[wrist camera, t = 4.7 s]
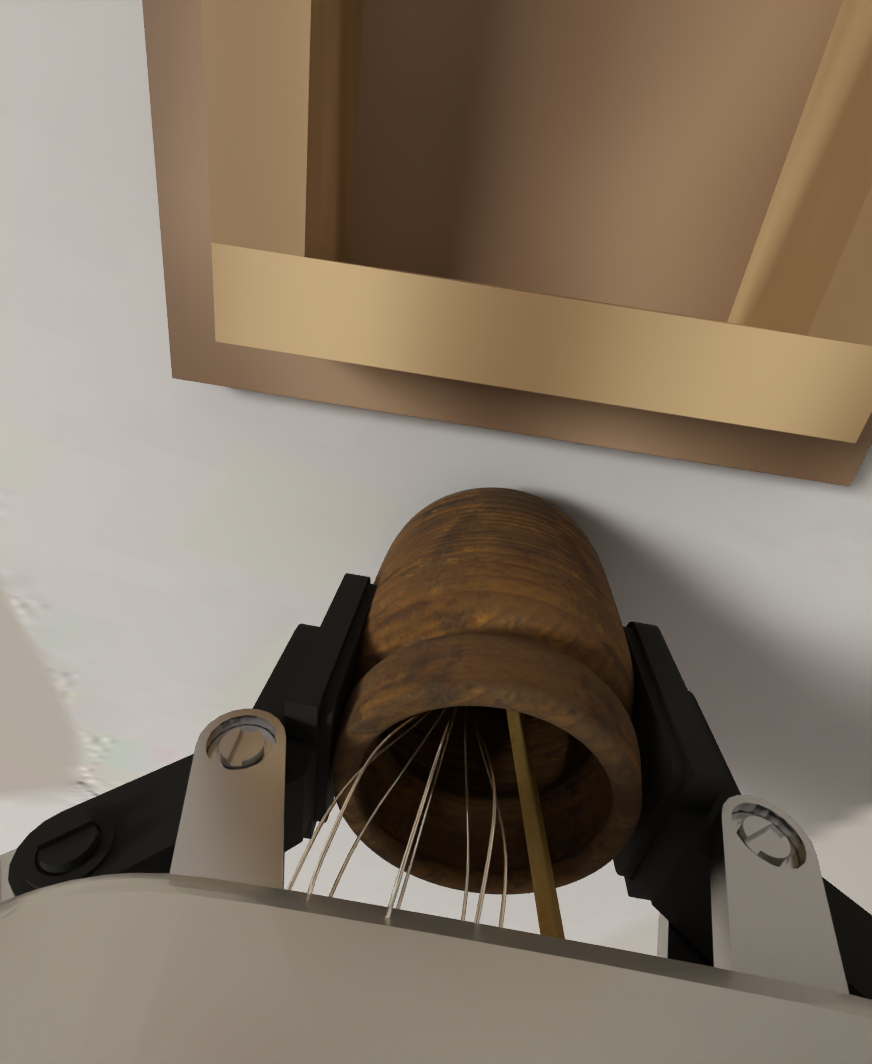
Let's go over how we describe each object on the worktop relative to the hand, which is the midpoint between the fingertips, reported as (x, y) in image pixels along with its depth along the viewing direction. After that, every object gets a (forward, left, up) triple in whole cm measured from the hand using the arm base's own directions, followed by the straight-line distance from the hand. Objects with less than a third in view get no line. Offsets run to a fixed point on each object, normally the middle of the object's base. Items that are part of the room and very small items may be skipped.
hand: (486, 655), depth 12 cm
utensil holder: (0, 0, -3) cm, 3 cm away
